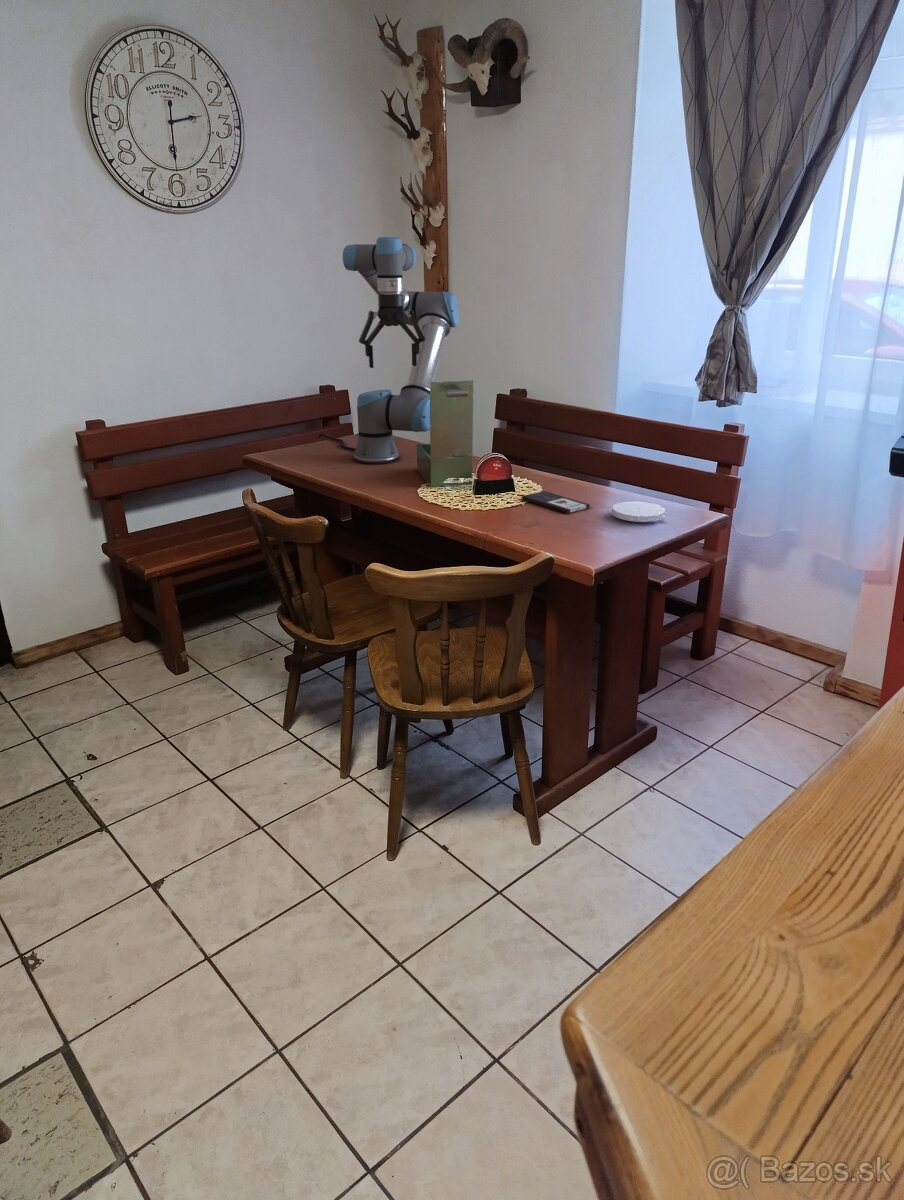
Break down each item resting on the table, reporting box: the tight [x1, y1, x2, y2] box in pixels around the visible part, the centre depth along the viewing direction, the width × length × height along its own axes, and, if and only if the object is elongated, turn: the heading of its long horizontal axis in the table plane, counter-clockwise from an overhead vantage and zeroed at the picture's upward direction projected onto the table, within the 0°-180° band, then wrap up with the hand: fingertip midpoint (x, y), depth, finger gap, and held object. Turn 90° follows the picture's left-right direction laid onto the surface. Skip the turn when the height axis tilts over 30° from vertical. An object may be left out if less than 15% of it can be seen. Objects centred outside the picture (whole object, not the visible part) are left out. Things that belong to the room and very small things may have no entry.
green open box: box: [416, 443, 473, 488], centre depth 257 cm, size 21×13×9 cm, turn 14°
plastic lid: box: [611, 501, 667, 523], centre depth 218 cm, size 14×14×2 cm
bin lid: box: [429, 380, 474, 458], centre depth 238 cm, size 22×13×8 cm
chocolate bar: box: [521, 490, 590, 514], centre depth 231 cm, size 9×1×18 cm
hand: (393, 366), depth 251 cm, fingers open, 13 cm apart
